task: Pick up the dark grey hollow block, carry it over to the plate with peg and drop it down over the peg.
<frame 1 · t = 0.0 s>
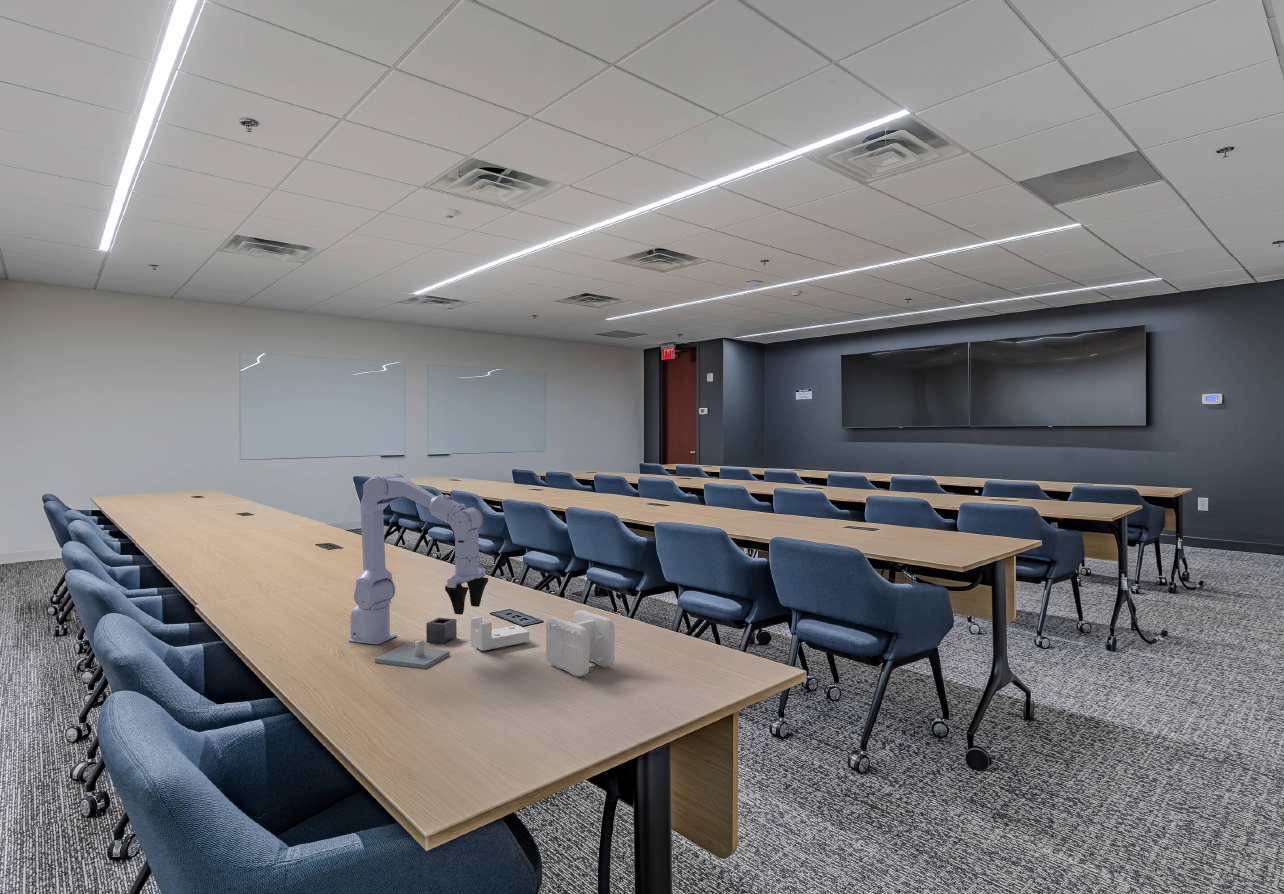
hand: (467, 609, 171), 10 cm above the table, tool pointing down, fingers open, 7 cm apart
dark grey hollow block: (441, 639, 179), on the table
plate with peg: (412, 658, 164), on the table
bracket: (500, 646, 175), on the table
cable organizer: (580, 668, 158), on the table
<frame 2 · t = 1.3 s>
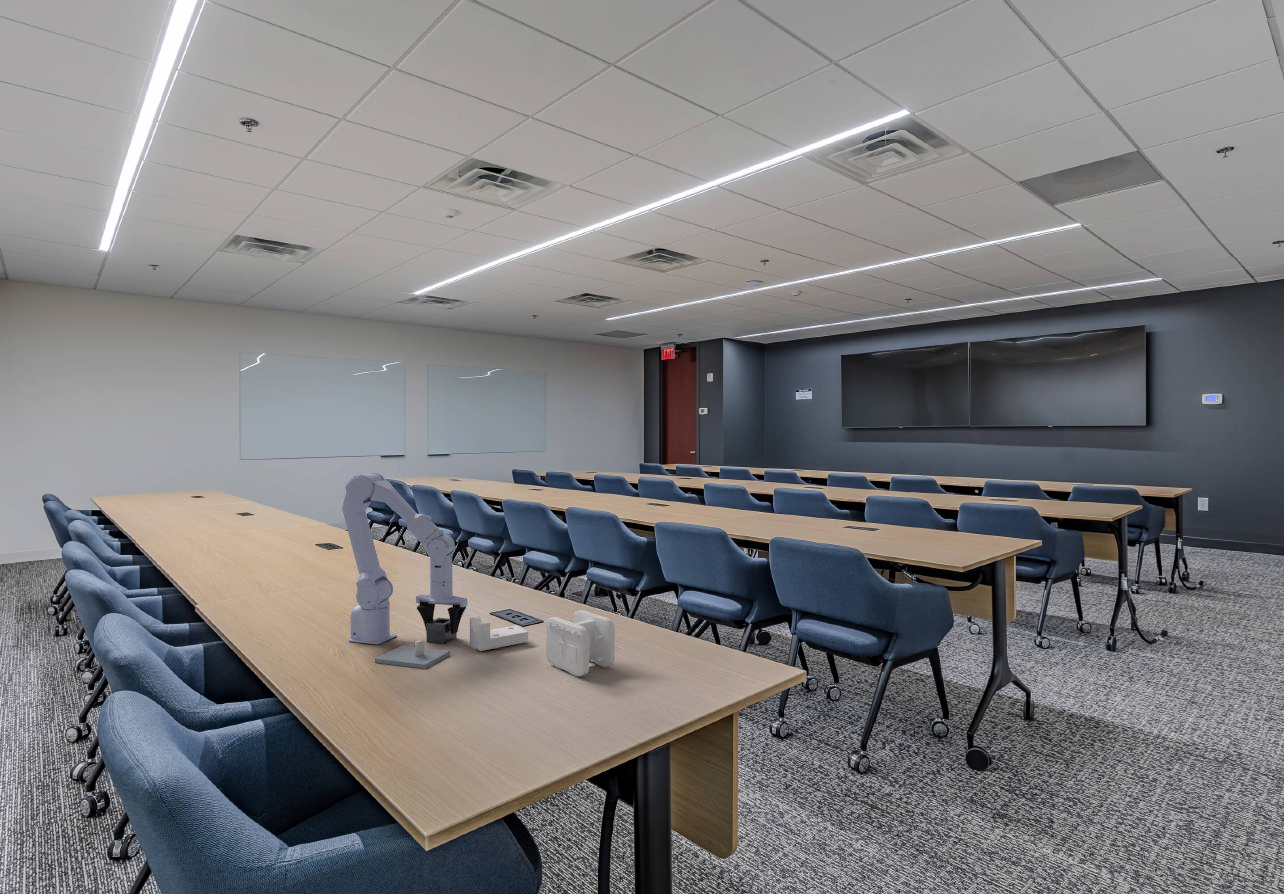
hand: (441, 631, 179), 2 cm above the table, tool pointing down, fingers open, 7 cm apart
nothing on the table moved.
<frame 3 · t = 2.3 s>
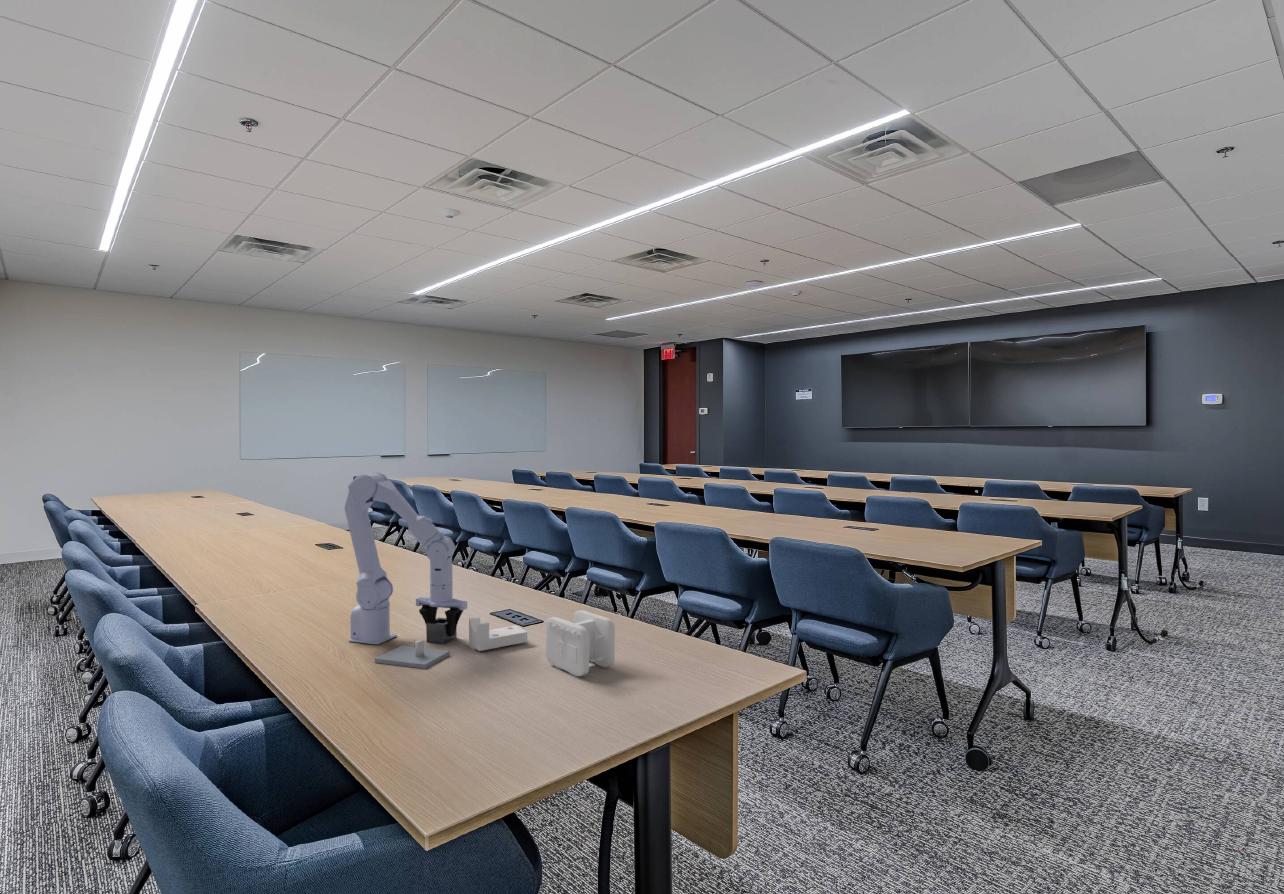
hand: (441, 634, 179), 1 cm above the table, tool pointing down, fingers closed on dark grey hollow block, 5 cm apart
dark grey hollow block: (441, 639, 179), on the table, touching gripper
everything else where it was.
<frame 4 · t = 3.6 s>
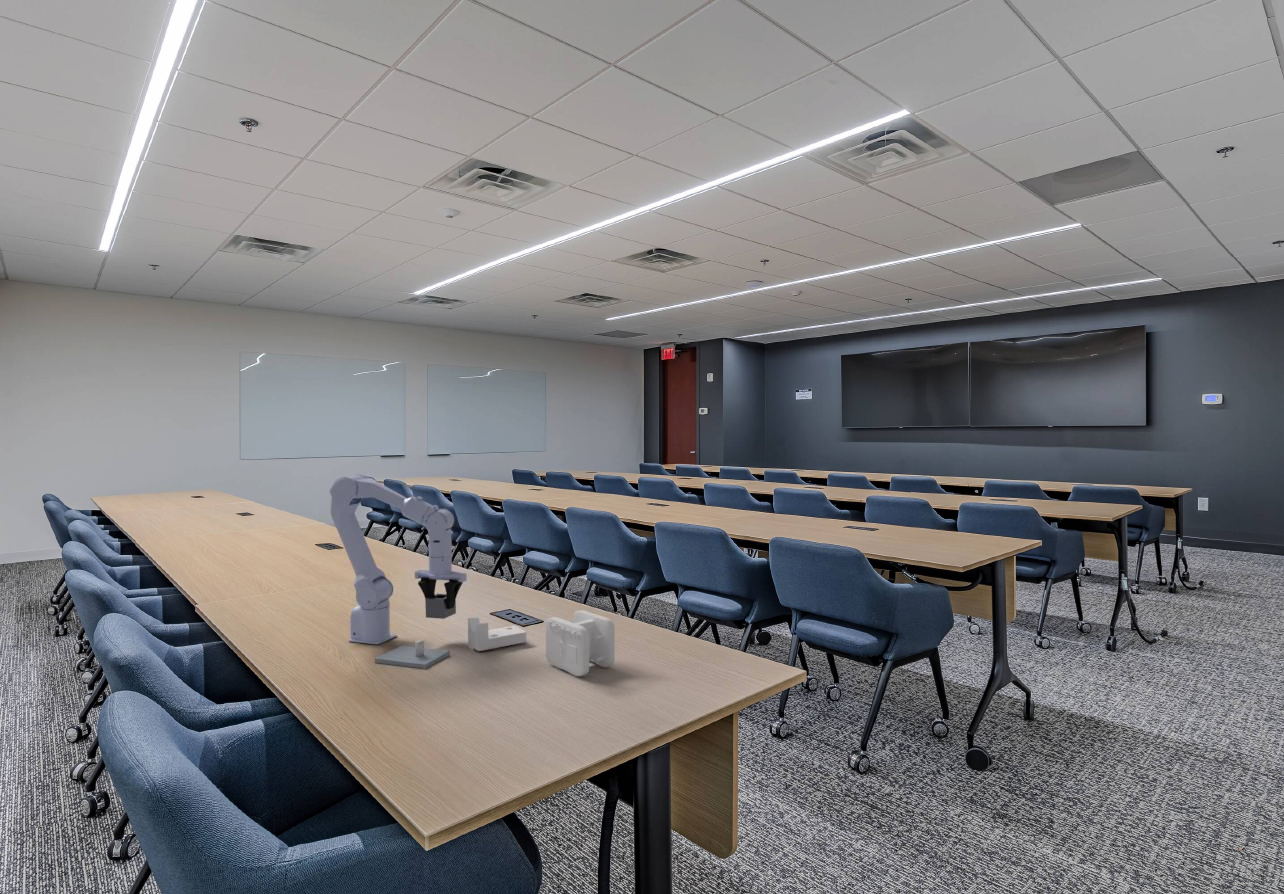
hand: (440, 607, 178), 9 cm above the table, tool pointing down, fingers closed on dark grey hollow block, 5 cm apart
dark grey hollow block: (441, 615, 178), point 7 cm above the table, touching gripper
everything else where it was.
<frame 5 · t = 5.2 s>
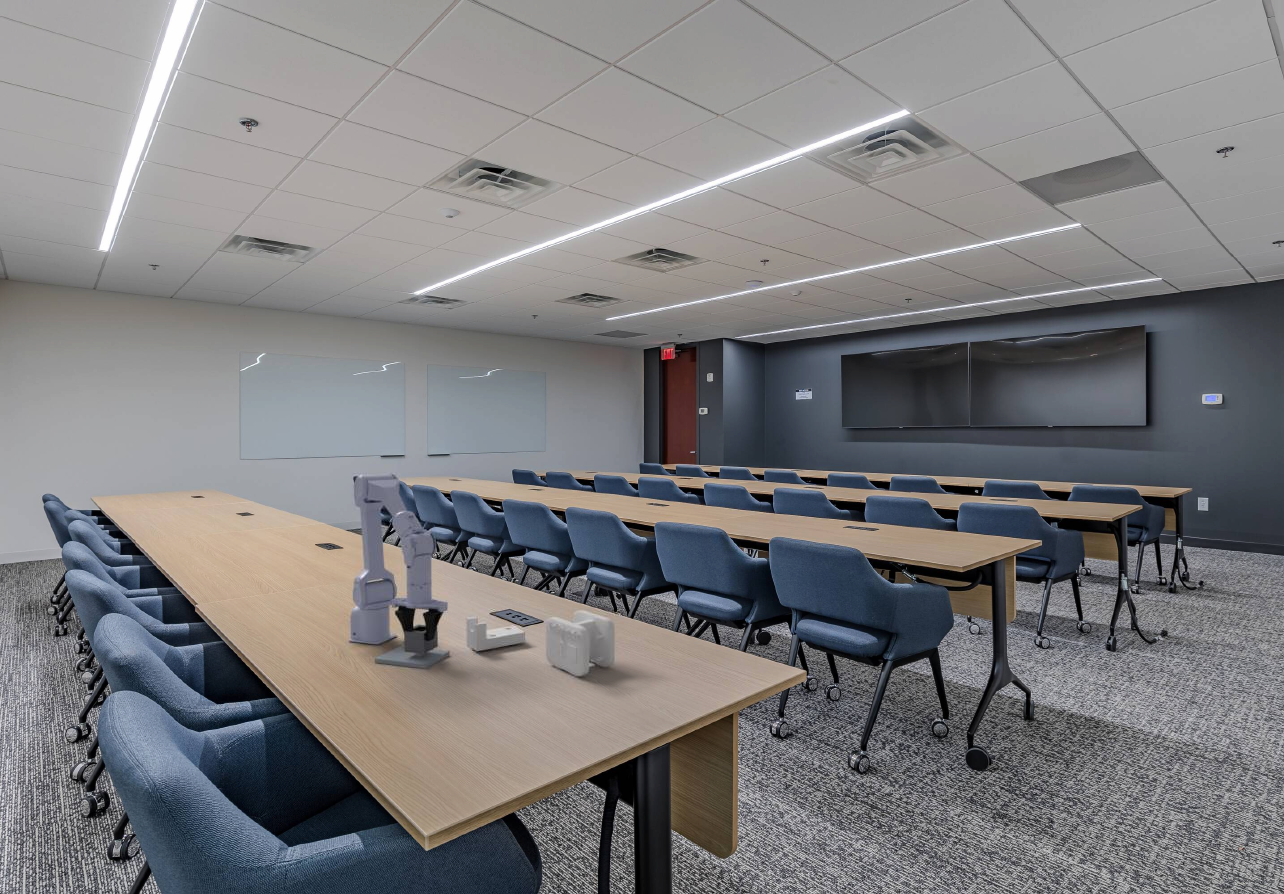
hand: (419, 638, 163), 5 cm above the table, tool pointing down, fingers closed on dark grey hollow block, 5 cm apart
dark grey hollow block: (421, 648, 164), point 2 cm above the table, touching gripper
when the fingers open (4 cm above the table, at t = 6.5 s): dark grey hollow block stays where it is, resting on plate with peg.
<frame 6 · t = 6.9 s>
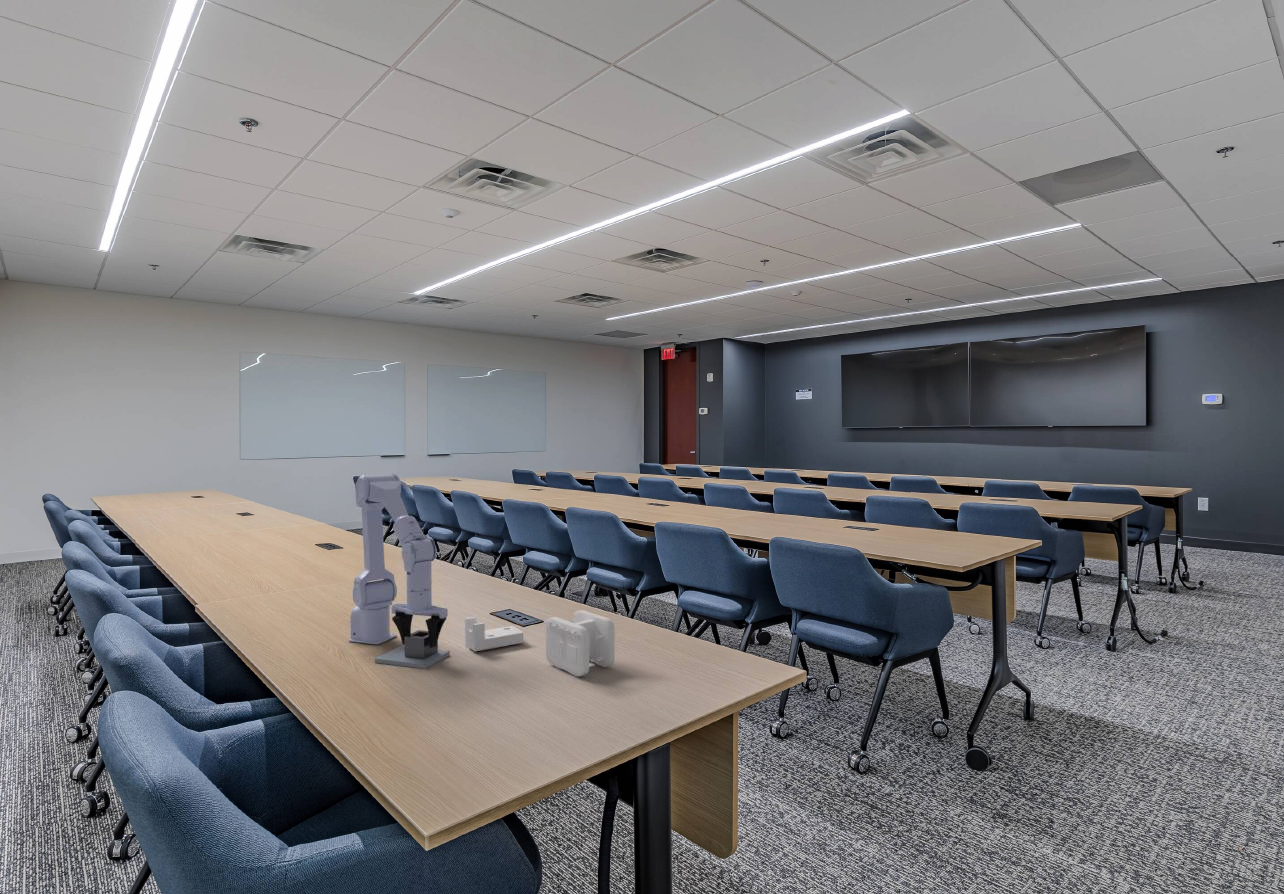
hand: (419, 644, 163), 4 cm above the table, tool pointing down, fingers open, 7 cm apart
dark grey hollow block: (421, 654, 164), point 1 cm above the table, touching plate with peg
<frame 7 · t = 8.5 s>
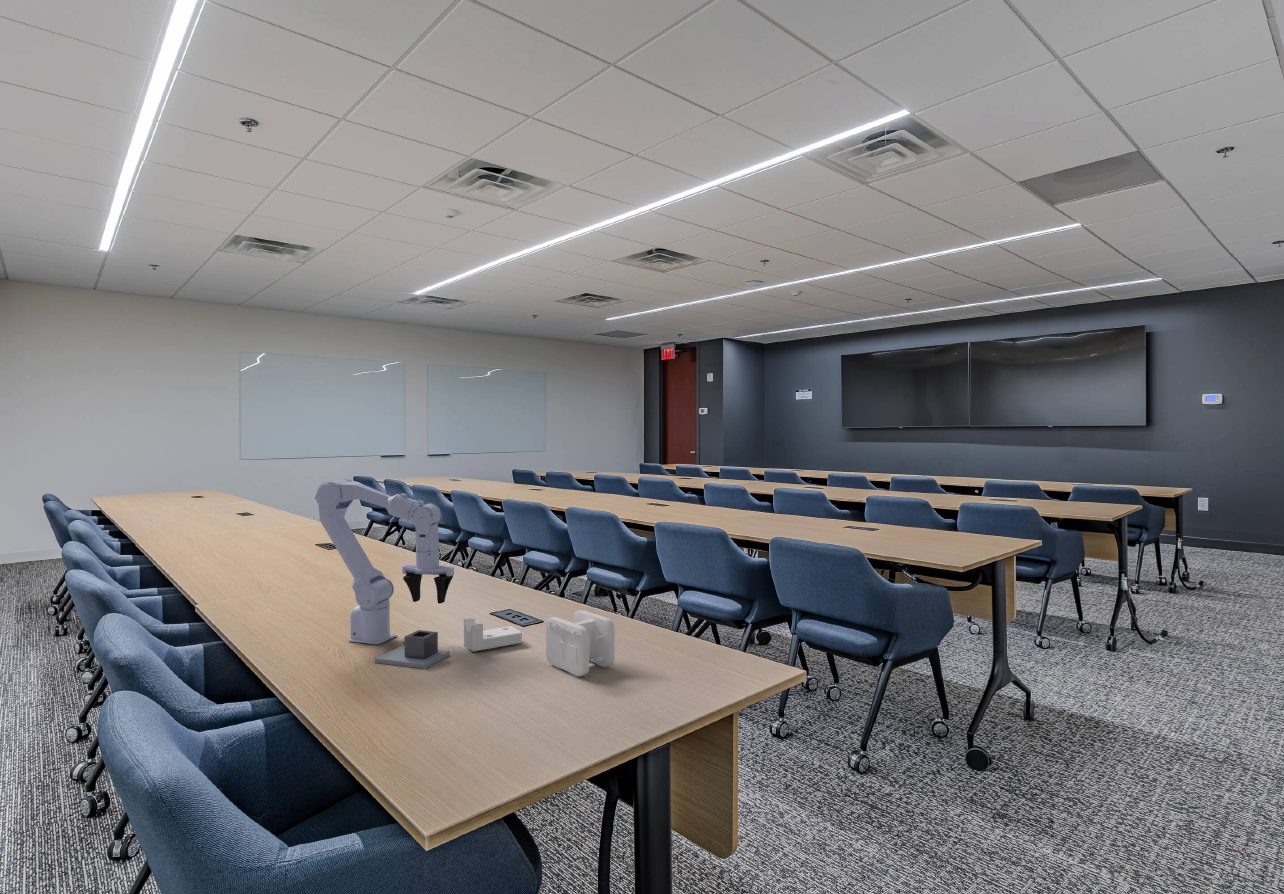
hand: (428, 601, 178), 10 cm above the table, tool pointing down, fingers open, 7 cm apart
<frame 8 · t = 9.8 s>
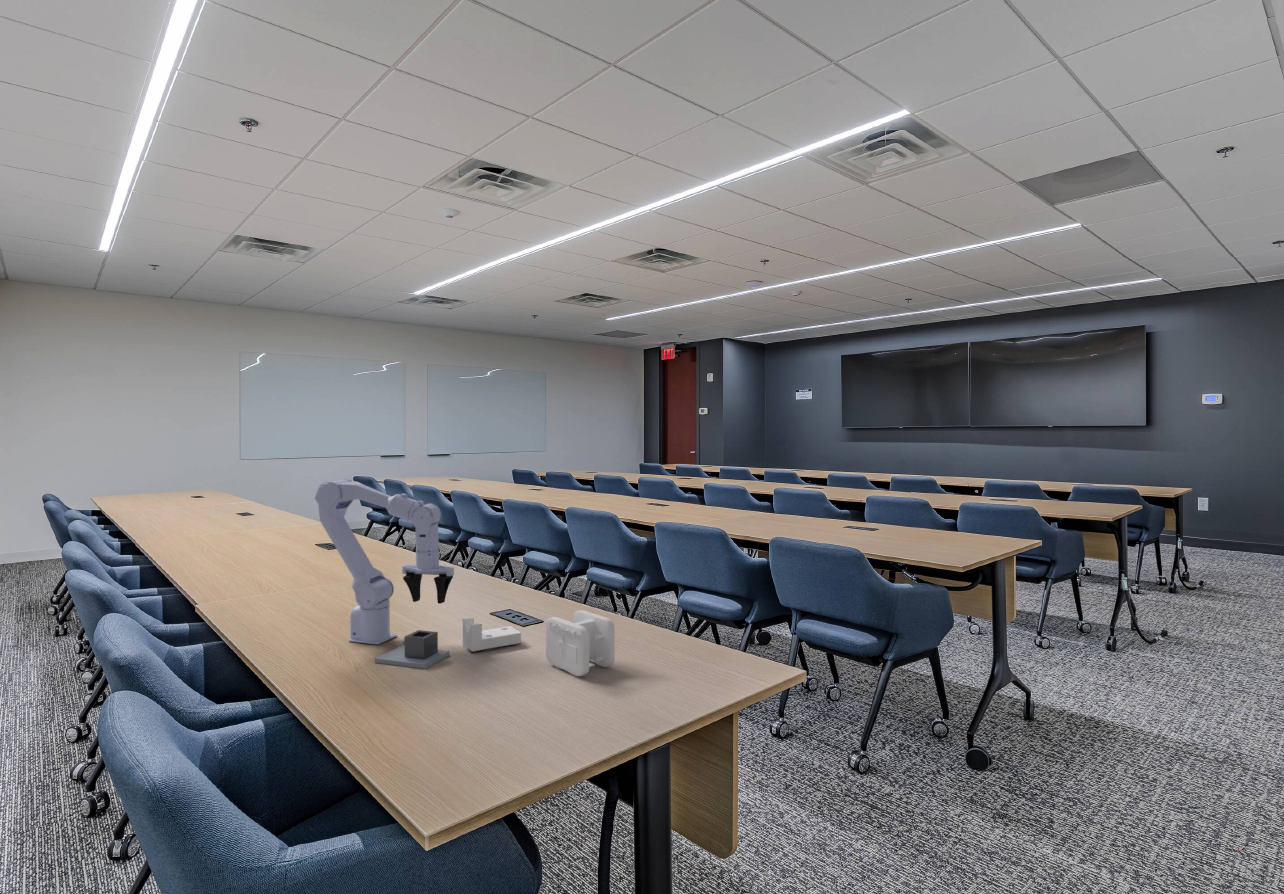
hand: (428, 601, 178), 10 cm above the table, tool pointing down, fingers open, 7 cm apart
at the end: dark grey hollow block 0.6 cm from the target spot on the plate with peg, point 1.0 cm above the plate with peg's base; dark grey hollow block tilted 0°; the gripper is holding nothing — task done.
